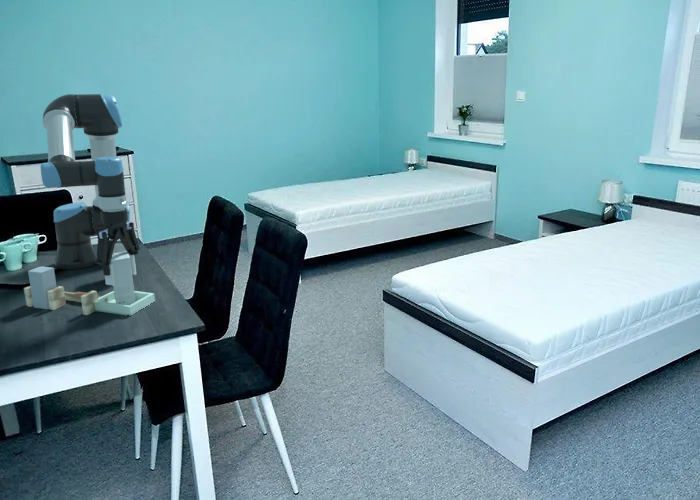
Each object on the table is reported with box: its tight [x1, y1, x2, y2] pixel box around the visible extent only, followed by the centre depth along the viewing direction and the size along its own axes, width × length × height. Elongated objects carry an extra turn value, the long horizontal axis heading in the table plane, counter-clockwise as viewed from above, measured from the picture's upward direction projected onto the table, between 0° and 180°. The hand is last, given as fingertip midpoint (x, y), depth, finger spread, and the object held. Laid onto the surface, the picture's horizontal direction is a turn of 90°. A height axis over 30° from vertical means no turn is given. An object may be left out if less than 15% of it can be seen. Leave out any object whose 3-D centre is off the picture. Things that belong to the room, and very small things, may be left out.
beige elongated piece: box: [23, 285, 108, 316], centre depth 175 cm, size 9×24×6 cm, turn 73°
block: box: [27, 266, 58, 310], centre depth 174 cm, size 5×5×12 cm
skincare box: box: [110, 252, 136, 305], centre depth 173 cm, size 8×6×15 cm
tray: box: [94, 290, 156, 317], centre depth 176 cm, size 12×14×3 cm
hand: (121, 279), depth 174 cm, fingers closed on skincare box, 9 cm apart
